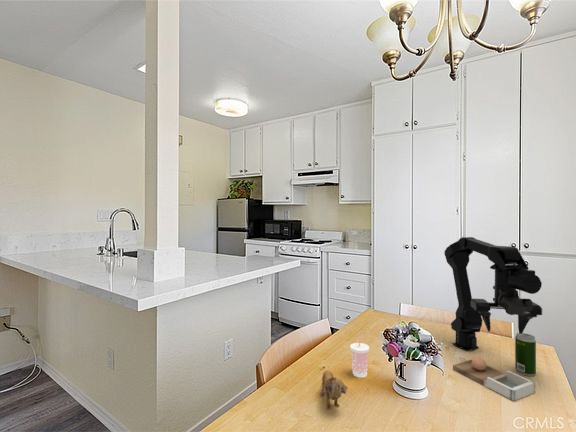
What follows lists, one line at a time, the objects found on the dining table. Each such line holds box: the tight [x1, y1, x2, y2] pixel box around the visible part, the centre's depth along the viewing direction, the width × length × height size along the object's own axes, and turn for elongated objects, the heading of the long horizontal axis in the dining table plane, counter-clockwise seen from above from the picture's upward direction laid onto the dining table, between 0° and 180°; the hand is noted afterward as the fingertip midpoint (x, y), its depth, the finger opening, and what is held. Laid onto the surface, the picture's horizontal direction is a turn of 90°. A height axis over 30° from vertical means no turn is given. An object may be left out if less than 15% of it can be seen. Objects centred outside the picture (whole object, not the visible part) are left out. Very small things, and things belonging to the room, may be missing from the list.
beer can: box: [514, 332, 537, 377], centre depth 100 cm, size 5×5×12 cm
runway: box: [452, 359, 507, 388], centre depth 99 cm, size 12×10×2 cm
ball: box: [471, 356, 487, 370], centre depth 100 cm, size 4×4×4 cm
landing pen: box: [486, 370, 536, 402], centre depth 91 cm, size 8×10×3 cm
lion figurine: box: [320, 369, 349, 410], centre depth 87 cm, size 15×5×9 cm, turn 14°
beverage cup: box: [350, 331, 370, 379], centre depth 101 cm, size 6×6×14 cm
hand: (504, 332), depth 101 cm, fingers open, 9 cm apart
